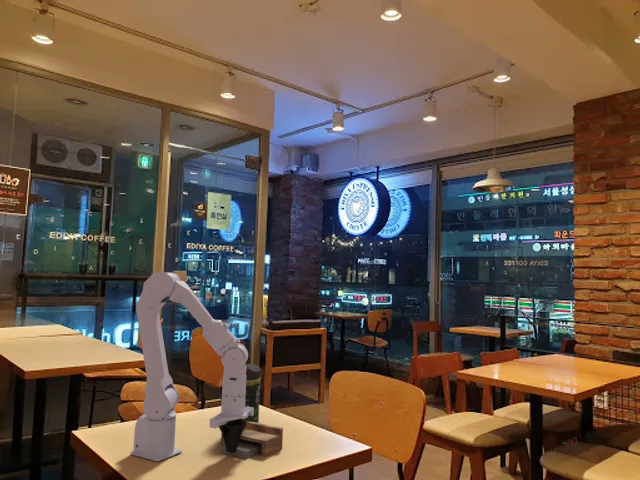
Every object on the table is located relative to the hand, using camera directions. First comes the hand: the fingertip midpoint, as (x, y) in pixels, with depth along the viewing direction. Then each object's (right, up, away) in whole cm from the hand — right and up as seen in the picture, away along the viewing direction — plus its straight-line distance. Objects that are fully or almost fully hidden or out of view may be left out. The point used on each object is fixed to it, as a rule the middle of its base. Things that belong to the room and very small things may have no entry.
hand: (231, 451), depth 120 cm
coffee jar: (0, -3, +20) cm, 21 cm away
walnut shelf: (+4, -2, +7) cm, 8 cm away
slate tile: (+2, -2, +4) cm, 5 cm away
